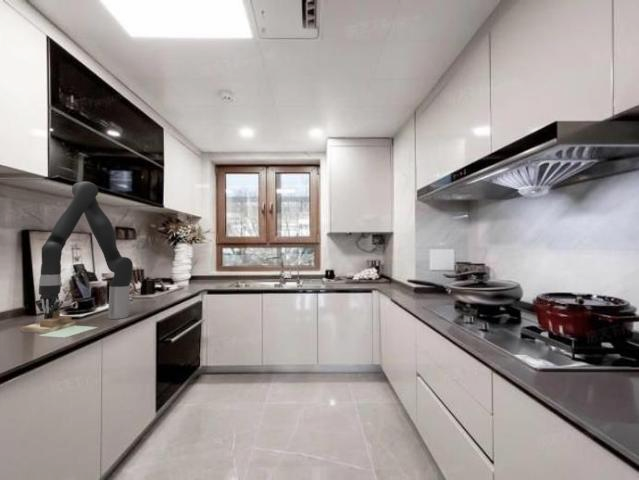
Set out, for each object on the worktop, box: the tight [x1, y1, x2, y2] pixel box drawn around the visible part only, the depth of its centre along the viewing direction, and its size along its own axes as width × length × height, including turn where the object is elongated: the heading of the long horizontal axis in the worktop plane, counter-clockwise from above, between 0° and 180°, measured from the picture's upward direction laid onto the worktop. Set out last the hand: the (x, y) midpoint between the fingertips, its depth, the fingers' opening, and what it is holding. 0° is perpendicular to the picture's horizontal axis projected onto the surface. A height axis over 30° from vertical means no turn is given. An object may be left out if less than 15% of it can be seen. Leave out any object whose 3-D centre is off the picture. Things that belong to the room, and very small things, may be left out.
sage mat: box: [38, 325, 99, 339], centre depth 131 cm, size 16×12×1 cm
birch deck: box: [20, 320, 77, 334], centre depth 136 cm, size 13×14×2 cm
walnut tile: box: [39, 315, 72, 328], centre depth 135 cm, size 9×6×3 cm, turn 172°
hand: (48, 320), depth 136 cm, fingers closed
